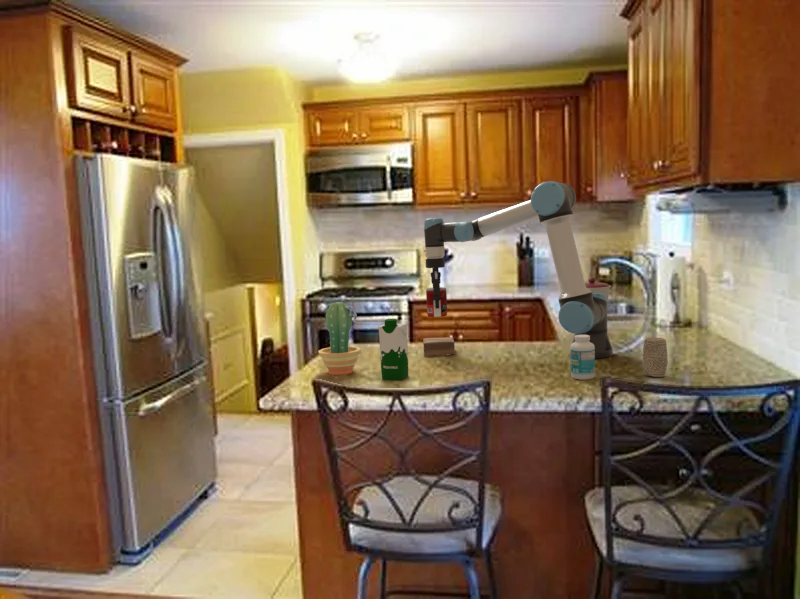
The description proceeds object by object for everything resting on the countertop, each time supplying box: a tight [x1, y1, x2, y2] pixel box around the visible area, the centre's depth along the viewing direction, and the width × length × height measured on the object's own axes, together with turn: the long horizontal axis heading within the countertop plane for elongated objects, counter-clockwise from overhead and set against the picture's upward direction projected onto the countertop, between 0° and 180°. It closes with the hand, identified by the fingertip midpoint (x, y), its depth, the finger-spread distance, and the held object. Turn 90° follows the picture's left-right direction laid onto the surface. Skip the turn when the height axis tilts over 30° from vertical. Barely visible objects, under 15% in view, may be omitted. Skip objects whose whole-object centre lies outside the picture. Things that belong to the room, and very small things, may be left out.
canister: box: [585, 276, 611, 308], centre depth 339 cm, size 18×18×21 cm
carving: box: [642, 337, 669, 378], centre depth 207 cm, size 6×8×12 cm
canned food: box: [425, 286, 448, 318], centre depth 263 cm, size 8×8×11 cm
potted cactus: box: [318, 301, 362, 376], centre depth 236 cm, size 15×15×25 cm
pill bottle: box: [569, 334, 596, 381], centre depth 210 cm, size 8×7×14 cm
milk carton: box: [378, 318, 409, 381], centre depth 222 cm, size 9×9×20 cm
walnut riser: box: [422, 336, 456, 357], centre depth 264 cm, size 12×12×5 cm
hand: (437, 315), depth 263 cm, fingers closed on canned food, 8 cm apart
